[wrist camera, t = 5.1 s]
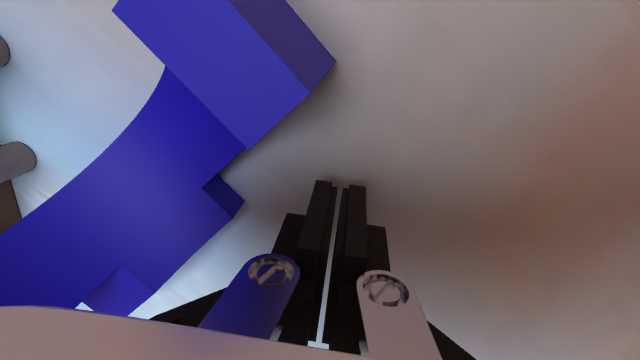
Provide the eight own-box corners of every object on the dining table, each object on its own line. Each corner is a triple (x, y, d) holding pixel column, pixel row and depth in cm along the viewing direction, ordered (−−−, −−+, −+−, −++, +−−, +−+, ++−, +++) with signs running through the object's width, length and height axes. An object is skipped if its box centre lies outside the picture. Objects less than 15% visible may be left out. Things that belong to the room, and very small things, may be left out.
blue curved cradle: (158, 273, 16) (46, 407, 10) (75, 204, 15) (-99, 311, 9) (366, 96, 11) (369, 160, 6) (270, -19, 10) (167, -69, 5)
